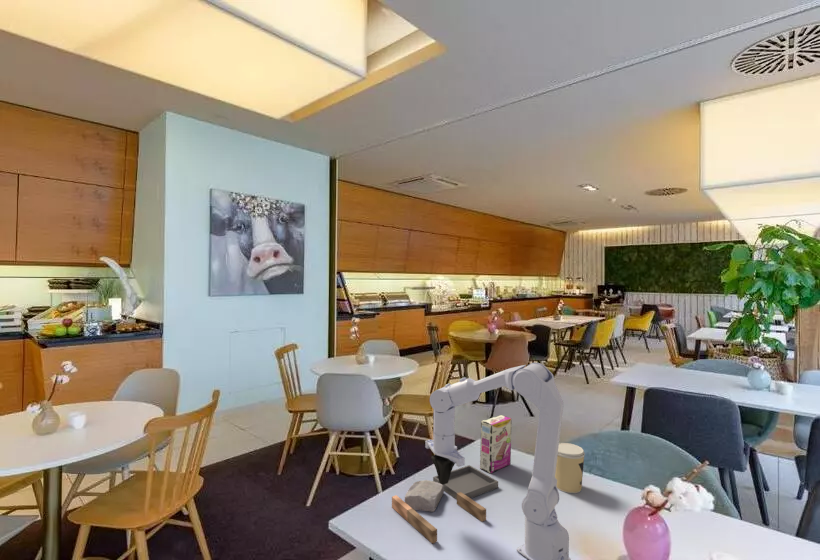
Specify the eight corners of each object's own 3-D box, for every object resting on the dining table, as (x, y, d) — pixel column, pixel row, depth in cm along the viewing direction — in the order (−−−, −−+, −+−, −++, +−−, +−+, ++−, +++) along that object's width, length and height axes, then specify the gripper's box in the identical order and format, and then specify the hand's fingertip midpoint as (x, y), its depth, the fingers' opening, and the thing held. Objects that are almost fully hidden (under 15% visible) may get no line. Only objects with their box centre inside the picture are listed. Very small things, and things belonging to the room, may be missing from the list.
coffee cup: (587, 496, 123) (588, 455, 123) (555, 493, 125) (555, 453, 125) (580, 480, 132) (580, 443, 132) (549, 478, 134) (550, 441, 134)
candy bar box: (491, 474, 136) (491, 424, 136) (479, 469, 140) (479, 420, 140) (511, 464, 143) (512, 417, 143) (500, 459, 147) (500, 414, 147)
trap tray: (498, 487, 127) (498, 481, 127) (460, 502, 119) (460, 495, 119) (469, 471, 138) (469, 465, 138) (433, 483, 130) (433, 476, 130)
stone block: (403, 514, 116) (436, 513, 113) (400, 497, 117) (433, 495, 114) (415, 495, 127) (446, 494, 124) (413, 479, 128) (443, 477, 125)
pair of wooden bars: (486, 520, 110) (486, 508, 110) (432, 543, 100) (432, 531, 100) (442, 489, 126) (442, 479, 126) (391, 507, 116) (391, 496, 116)
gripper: (473, 438, 107) (473, 490, 107) (439, 421, 119) (439, 468, 119) (452, 444, 103) (452, 498, 103) (419, 426, 115) (419, 475, 115)
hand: (443, 482), depth 111 cm, fingers closed
